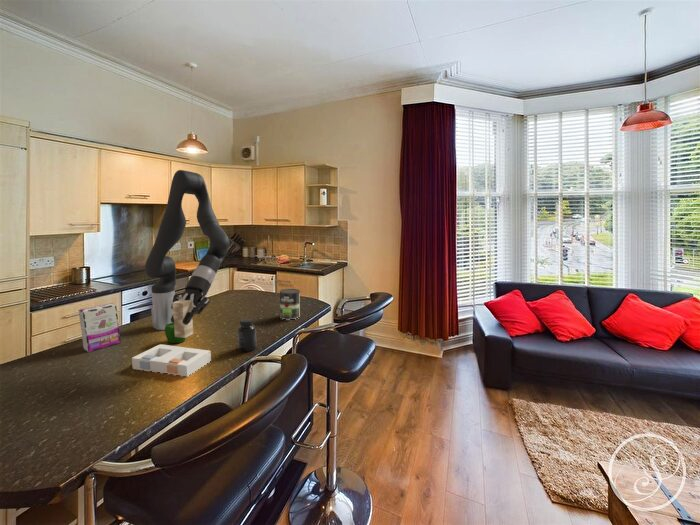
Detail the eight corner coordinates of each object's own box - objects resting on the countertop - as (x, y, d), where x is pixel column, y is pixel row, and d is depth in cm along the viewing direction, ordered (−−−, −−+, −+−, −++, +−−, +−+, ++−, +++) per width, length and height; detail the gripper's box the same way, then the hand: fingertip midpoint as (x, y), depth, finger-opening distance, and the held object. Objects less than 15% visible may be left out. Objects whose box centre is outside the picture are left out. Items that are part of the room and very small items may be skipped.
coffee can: (296, 321, 161) (296, 293, 159) (277, 319, 163) (276, 292, 161) (302, 314, 171) (302, 289, 169) (284, 313, 173) (283, 288, 171)
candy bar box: (115, 340, 134) (111, 302, 132) (121, 343, 132) (117, 304, 129) (82, 349, 125) (77, 309, 122) (88, 352, 122) (83, 311, 120)
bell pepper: (176, 346, 129) (174, 322, 127) (161, 343, 132) (159, 320, 130) (193, 339, 137) (191, 316, 135) (178, 336, 139) (177, 314, 138)
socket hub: (131, 369, 110) (130, 357, 109) (160, 354, 122) (159, 343, 121) (186, 377, 105) (185, 365, 104) (211, 361, 117) (210, 349, 116)
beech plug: (175, 336, 109) (172, 302, 107) (183, 332, 113) (181, 299, 111) (185, 337, 108) (182, 303, 106) (193, 333, 112) (191, 300, 110)
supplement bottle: (249, 344, 132) (248, 316, 131) (260, 348, 129) (259, 319, 127) (234, 349, 127) (233, 320, 125) (246, 354, 123) (244, 324, 121)
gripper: (178, 273, 116) (154, 316, 107) (213, 276, 113) (190, 320, 103) (190, 285, 122) (167, 326, 112) (223, 287, 119) (202, 330, 109)
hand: (179, 322), depth 108 cm, fingers closed on beech plug, 4 cm apart
